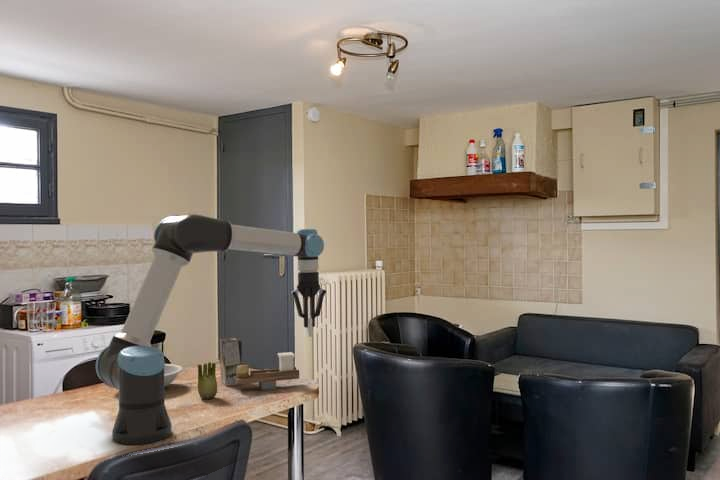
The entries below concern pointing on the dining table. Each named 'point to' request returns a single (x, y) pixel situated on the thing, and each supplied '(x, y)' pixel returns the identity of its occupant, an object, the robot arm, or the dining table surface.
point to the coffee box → (230, 359)
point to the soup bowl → (171, 373)
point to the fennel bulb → (207, 381)
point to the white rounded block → (286, 361)
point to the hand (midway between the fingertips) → (309, 336)
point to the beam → (264, 376)
